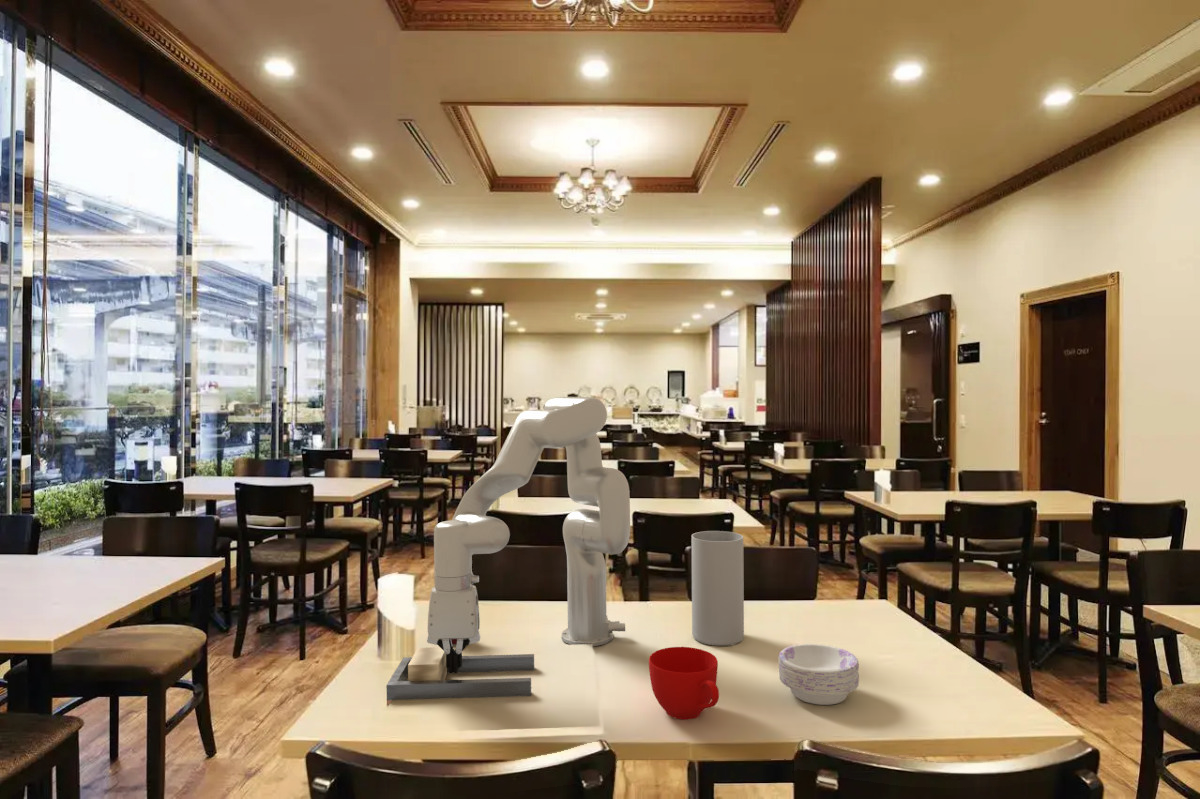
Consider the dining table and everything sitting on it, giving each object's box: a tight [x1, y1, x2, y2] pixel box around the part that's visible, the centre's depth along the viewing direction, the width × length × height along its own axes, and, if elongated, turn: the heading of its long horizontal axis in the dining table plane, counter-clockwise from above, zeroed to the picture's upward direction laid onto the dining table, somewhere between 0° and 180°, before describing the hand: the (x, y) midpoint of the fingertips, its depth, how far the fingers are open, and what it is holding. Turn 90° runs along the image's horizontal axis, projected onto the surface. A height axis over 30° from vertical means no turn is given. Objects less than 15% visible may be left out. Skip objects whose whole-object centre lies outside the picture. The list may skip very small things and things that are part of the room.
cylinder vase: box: [691, 530, 745, 647], centre depth 171 cm, size 12×12×25 cm
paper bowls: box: [778, 643, 860, 706], centre depth 139 cm, size 15×15×8 cm
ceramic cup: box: [648, 646, 720, 720], centre depth 130 cm, size 13×17×10 cm
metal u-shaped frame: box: [385, 653, 535, 706], centre depth 143 cm, size 28×14×4 cm, turn 93°
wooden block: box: [407, 646, 448, 681], centre depth 143 cm, size 6×9×6 cm, turn 3°
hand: (454, 670), depth 143 cm, fingers closed
